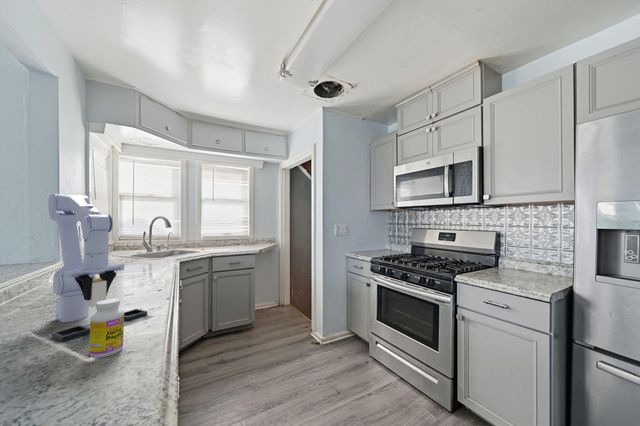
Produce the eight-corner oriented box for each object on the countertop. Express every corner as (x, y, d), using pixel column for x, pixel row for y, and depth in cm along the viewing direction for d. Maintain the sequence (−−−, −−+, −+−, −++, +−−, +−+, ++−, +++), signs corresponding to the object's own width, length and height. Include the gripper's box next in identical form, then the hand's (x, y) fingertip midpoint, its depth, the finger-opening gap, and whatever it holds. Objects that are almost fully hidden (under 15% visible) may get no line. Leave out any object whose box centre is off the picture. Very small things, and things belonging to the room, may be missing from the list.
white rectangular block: (85, 305, 78) (86, 279, 78) (99, 301, 81) (100, 277, 82) (91, 307, 77) (92, 280, 77) (106, 303, 80) (106, 278, 80)
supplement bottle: (104, 360, 62) (105, 306, 62) (82, 357, 63) (83, 304, 63) (129, 347, 68) (130, 298, 69) (109, 344, 69) (110, 296, 70)
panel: (45, 337, 74) (45, 330, 74) (130, 312, 94) (130, 307, 94) (68, 347, 68) (68, 340, 68) (154, 318, 88) (154, 312, 88)
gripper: (72, 257, 71) (71, 306, 71) (129, 251, 84) (129, 293, 84) (60, 255, 74) (59, 303, 74) (117, 250, 87) (116, 290, 87)
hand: (95, 297), depth 79 cm, fingers closed on white rectangular block, 4 cm apart
